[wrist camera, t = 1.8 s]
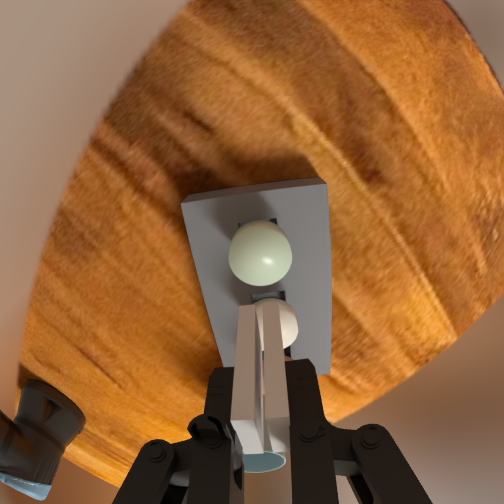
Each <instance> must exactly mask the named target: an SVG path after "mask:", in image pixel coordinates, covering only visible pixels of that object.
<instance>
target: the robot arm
mask: <svg viewBox="0 0 504 504" xmlns="http://www.w3.org/2000/svg"><path fill="white" fill-rule="evenodd" d="M262 307H263V342H264V382H265V420H266V424H267V428H268V433H269V437H270V441H271V446H272V450H273V453H276V452H286V451H290V453H291V475H292V476H291V477H292V504H339V501H338V492H337V485H336V476H335V475H341V476H346V477H347V480H348V482H349V484H350V486H351V488H352V490H353V492H354V494H355V496H356V498H357V501H358V503H359V504H433V503H432V502H431V500H430V499H429V497H428V495H427V494H426V492H425V490H424V488H423V487H422V485H421V483H420V482H419V480H418V479H417V477H416V475H415V474H414V472H413V470H412V469H411V467H410V466H409V464H408V462H407V461H406V459H405V457H404V456H403V454H402V453H401V451H400V449H399V448H398V446H397V445H396V443H395V441H394V440H393V438H392V437H391V435H390V433H389V432H388V431H387V430H386V429H385V428H384V427H382V426H380V425H378V424H368V425H363V426H361V427H360V428H358V429H357V430H349V429H340V428H337V427H335V426H332V425H331V424H330V423H329V422H328V421H327V420H326V418H325V415H324V411H323V406H322V400H321V395H320V390H319V385H318V379H317V374H316V369H315V366H314V365H313V363H312V362H311V361H310V360H309V359H308V358H306V359H299V360H291V361H285V359H284V349H283V340H282V331H281V322H280V314H279V305H278V302H270V303H262ZM206 395H207V397H206V401H205V407H204V414H201V415H199V416H197V417H195V418H194V419H193V420H192V421H191V422H190V423H189V425H188V428H187V429H188V431H189V433H190V434H191V436H192V438H190V439H188V440H185V441H181V442H177V443H172V444H170V443H169V442H167V441H165V440H161V439H155V440H151V441H149V442H147V443H146V444H145V445H144V446H143V447H142V448H141V450H140V452H139V454H138V456H137V457H136V459H135V461H134V463H133V465H132V467H131V469H130V471H129V472H128V474H127V476H126V478H125V480H124V482H123V484H122V486H121V487H120V490H119V491H118V493H117V495H116V497H115V499H114V501H113V503H112V504H244V464H243V461H242V451H243V452H244V454H262V453H264V434H263V372H262V342H261V336H260V331H259V325H258V319H257V313H256V307H255V304H252V305H243V306H239V318H238V330H237V342H236V354H235V367H220V368H215V369H214V371H213V372H212V374H211V375H210V377H209V382H208V389H207V394H206ZM85 423H86V419H85V417H84V415H83V413H82V412H81V411H80V410H79V408H78V407H77V406H76V405H75V404H74V403H73V402H72V401H70V400H69V399H68V398H67V397H65V396H64V395H63V394H61V393H60V392H59V391H57V390H55V389H54V388H52V387H50V386H49V385H47V384H45V383H42V382H40V381H37V380H28V381H27V382H26V383H25V385H24V386H23V388H22V390H21V397H20V402H19V407H18V412H17V415H16V417H15V419H14V421H12V420H11V419H10V418H8V417H7V416H6V415H5V414H4V413H3V412H2V411H1V410H0V481H2V482H4V483H5V484H7V485H9V486H11V487H13V488H15V489H16V490H18V491H20V492H22V493H24V494H26V495H28V496H30V497H32V498H34V499H37V500H44V499H45V498H46V497H47V494H48V492H49V490H50V488H51V487H52V483H53V480H54V477H55V474H56V472H57V469H58V466H59V464H60V461H61V458H62V456H63V453H64V451H65V449H66V447H67V446H68V445H69V444H70V443H71V442H72V441H73V439H74V438H75V437H76V436H77V434H80V433H81V432H82V430H83V428H84V426H85Z"/></svg>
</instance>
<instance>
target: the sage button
mask: <svg viewBox="0 0 504 504" xmlns="http://www.w3.org/2000/svg"><path fill="white" fill-rule="evenodd" d="M291 263H292V252H291V248H290V244H289V240H288V237H287V235H286V234H285V232H284V231H283V230H282V229H281V228H280V227H279V226H278V225H276V224H274V223H272V222H269V221H264V220H257V221H252V222H248V223H246V224H244V225H243V226H241V227H240V228H239V229H238V230H237V231H236V232H235V234H234V236H233V238H232V240H231V245H230V250H229V264H230V267H231V270H232V271H233V273H234V274H235V275H236V276H237V277H238V278H239V279H240V280H242V281H243V282H245V283H247V284H250V285H255V286H265V285H270V284H273V283H275V282H277V281H279V280H280V279H281V278H283V277H284V276H285V275H286V273H287V272H288V270H289V268H290V266H291Z"/></svg>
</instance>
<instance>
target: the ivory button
mask: <svg viewBox="0 0 504 504" xmlns="http://www.w3.org/2000/svg"><path fill="white" fill-rule="evenodd" d="M270 302H278V305H279V314H280V322H281V331H282V340H283V349H284V348H286V347H288V346H289V345H291V344H292V343H293V342H294V340H295V339H296V337H297V335H298V325H297V319H296V314H295V311H294V309H293V308H292V306H291V305H290V304H288V303H287V302H285V301H283V300H280V299H276V298H274V297H265V298H263V299H262V300H259V301H257V302H255V303H254V304H255V307H256V313H257V319H258V325H259V331H260V336H261V342H262V351H264V342H263V307H262V303H270Z"/></svg>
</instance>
